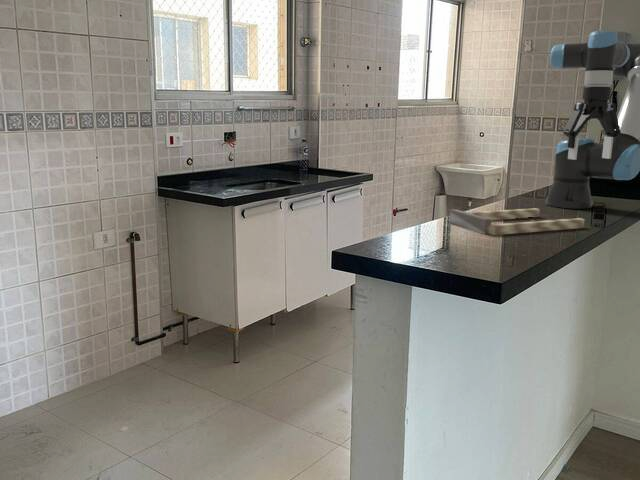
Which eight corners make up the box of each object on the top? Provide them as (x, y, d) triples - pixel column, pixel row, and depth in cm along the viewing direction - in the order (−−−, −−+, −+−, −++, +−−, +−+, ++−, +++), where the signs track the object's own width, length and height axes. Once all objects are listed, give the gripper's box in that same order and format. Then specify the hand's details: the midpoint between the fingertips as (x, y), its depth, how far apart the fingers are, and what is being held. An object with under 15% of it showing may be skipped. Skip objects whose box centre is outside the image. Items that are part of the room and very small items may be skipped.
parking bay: (534, 215, 190) (535, 203, 189) (583, 227, 172) (585, 214, 171) (445, 222, 178) (446, 208, 177) (488, 235, 160) (489, 220, 159)
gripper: (618, 87, 185) (610, 156, 189) (555, 85, 175) (548, 158, 180) (639, 87, 178) (630, 159, 182) (574, 84, 169) (566, 160, 173)
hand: (589, 158), depth 181 cm, fingers open, 13 cm apart
